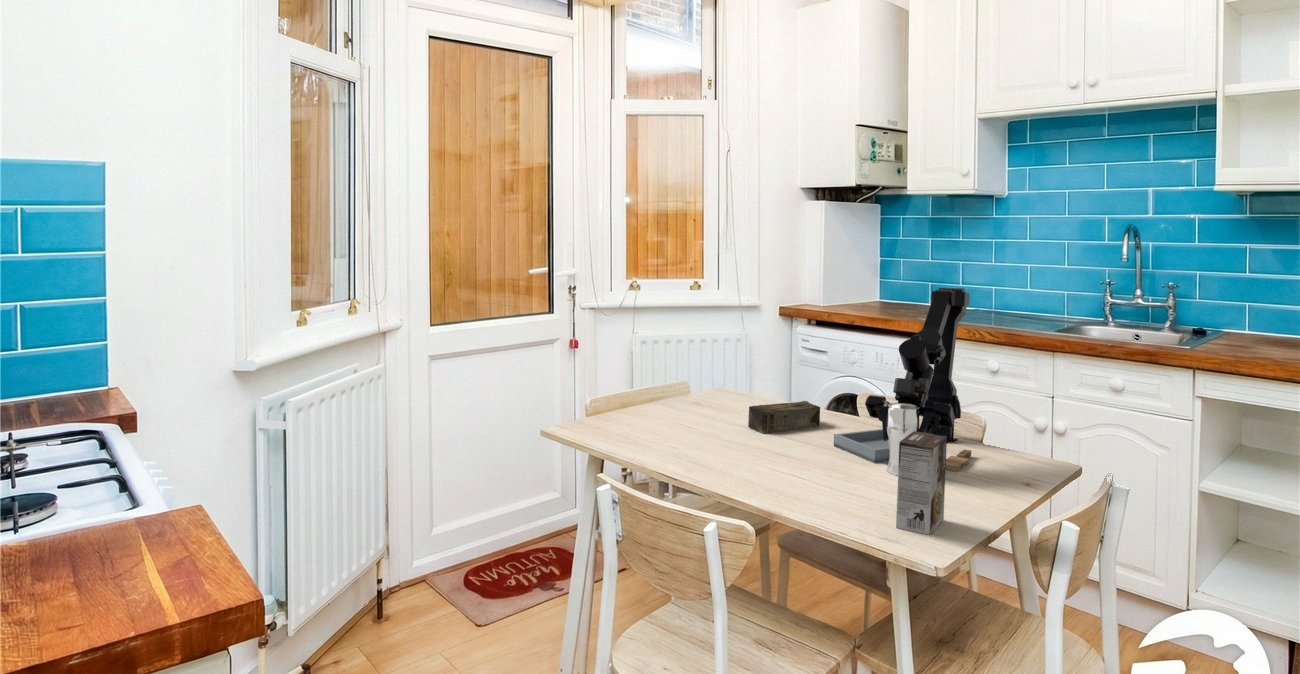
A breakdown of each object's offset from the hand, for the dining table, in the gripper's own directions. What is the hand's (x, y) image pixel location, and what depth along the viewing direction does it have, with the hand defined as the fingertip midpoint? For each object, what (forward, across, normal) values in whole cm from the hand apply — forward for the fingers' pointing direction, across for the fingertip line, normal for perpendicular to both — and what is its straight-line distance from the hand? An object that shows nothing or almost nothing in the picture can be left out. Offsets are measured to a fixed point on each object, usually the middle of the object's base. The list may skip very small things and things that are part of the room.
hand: (900, 442), depth 174 cm
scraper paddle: (-5, +9, +15) cm, 19 cm away
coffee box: (+25, +12, -15) cm, 32 cm away
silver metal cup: (+4, 0, +6) cm, 7 cm away
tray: (-6, -9, +16) cm, 20 cm away
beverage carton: (-12, -39, +23) cm, 47 cm away
